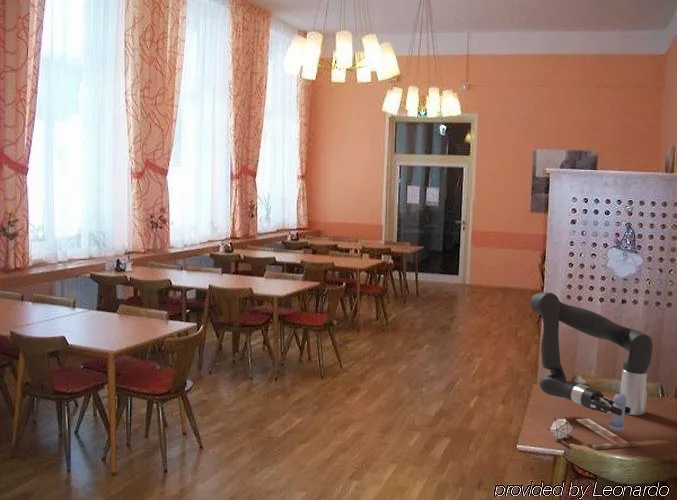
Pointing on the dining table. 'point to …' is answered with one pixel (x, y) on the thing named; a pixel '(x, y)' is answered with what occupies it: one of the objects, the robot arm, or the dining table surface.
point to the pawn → (618, 420)
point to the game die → (561, 429)
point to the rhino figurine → (581, 381)
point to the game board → (606, 436)
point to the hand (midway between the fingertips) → (625, 411)
